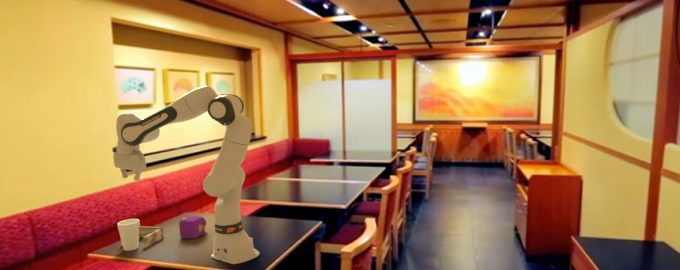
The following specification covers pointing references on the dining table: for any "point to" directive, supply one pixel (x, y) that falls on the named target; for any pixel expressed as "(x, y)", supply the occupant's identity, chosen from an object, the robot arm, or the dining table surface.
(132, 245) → the foam cup
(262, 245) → the dining table surface
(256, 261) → the dining table surface
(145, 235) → the cup holder
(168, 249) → the dining table surface
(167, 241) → the dining table surface
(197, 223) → the toy camera
